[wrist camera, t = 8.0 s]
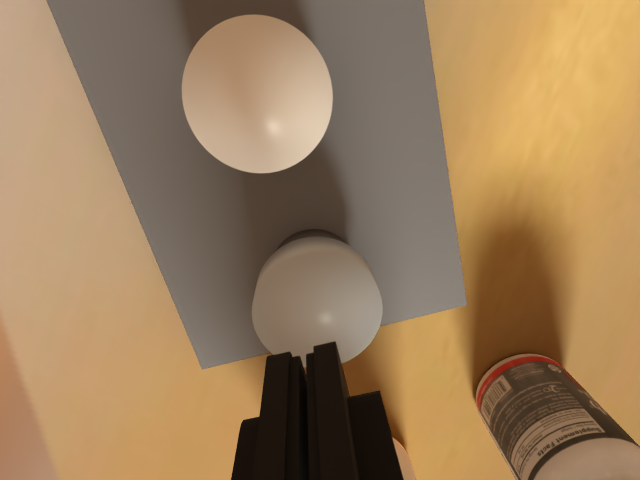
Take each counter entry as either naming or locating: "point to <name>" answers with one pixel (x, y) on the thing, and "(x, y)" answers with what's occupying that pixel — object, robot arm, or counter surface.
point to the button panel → (282, 186)
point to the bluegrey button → (316, 299)
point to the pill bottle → (552, 424)
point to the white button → (257, 93)
